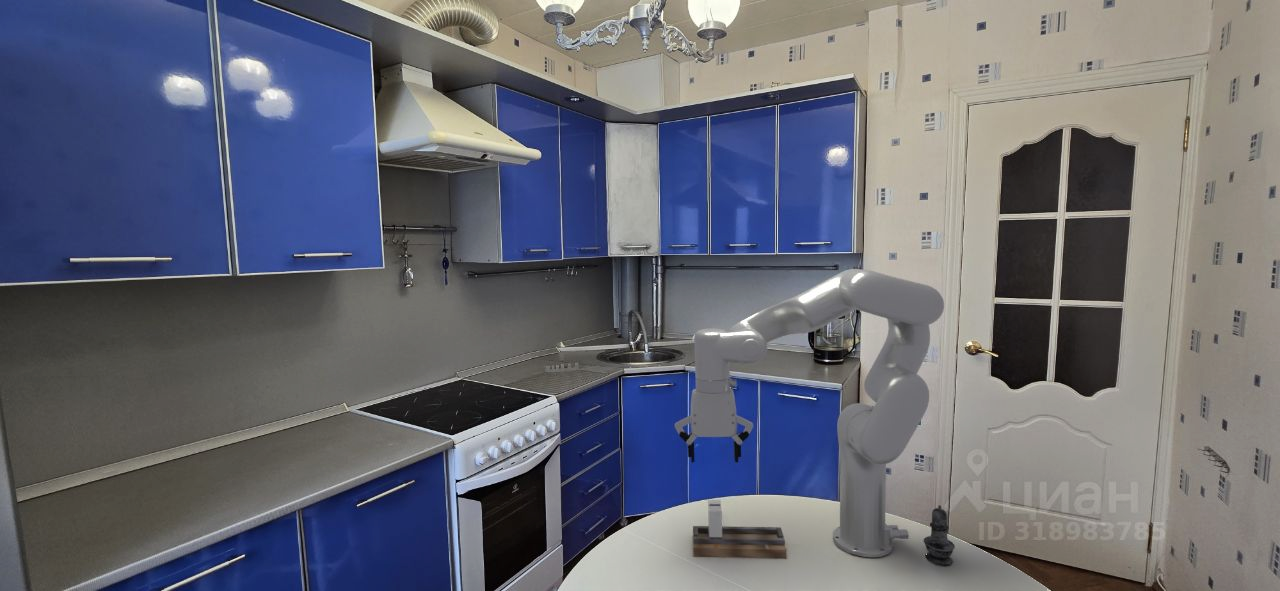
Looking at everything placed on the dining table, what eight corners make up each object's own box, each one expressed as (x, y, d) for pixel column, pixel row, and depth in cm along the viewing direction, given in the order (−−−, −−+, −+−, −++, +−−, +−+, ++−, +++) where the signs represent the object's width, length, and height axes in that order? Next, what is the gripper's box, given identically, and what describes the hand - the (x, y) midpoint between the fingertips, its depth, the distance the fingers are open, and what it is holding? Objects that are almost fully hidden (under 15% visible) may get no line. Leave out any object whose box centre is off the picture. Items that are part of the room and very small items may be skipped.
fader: (721, 530, 128) (720, 499, 128) (722, 543, 123) (722, 510, 122) (708, 529, 129) (707, 498, 128) (709, 542, 123) (708, 510, 123)
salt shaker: (944, 551, 121) (945, 498, 120) (960, 566, 116) (962, 511, 114) (917, 552, 121) (918, 499, 120) (932, 567, 115) (933, 512, 114)
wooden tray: (779, 536, 129) (779, 521, 129) (786, 558, 120) (786, 542, 120) (693, 535, 131) (692, 520, 131) (693, 556, 122) (693, 540, 122)
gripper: (750, 380, 126) (751, 453, 127) (673, 381, 127) (676, 453, 129) (754, 389, 118) (755, 466, 120) (673, 389, 120) (675, 466, 121)
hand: (714, 460), depth 124 cm, fingers open, 9 cm apart
